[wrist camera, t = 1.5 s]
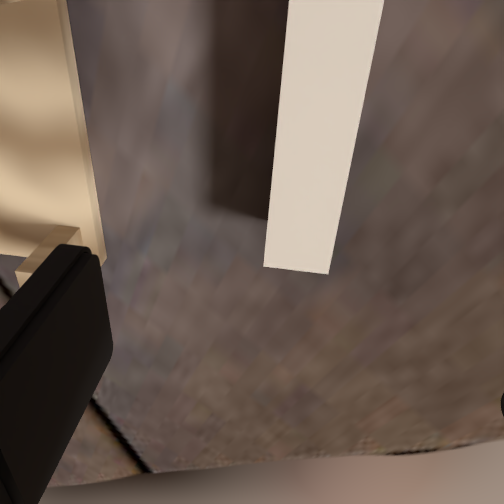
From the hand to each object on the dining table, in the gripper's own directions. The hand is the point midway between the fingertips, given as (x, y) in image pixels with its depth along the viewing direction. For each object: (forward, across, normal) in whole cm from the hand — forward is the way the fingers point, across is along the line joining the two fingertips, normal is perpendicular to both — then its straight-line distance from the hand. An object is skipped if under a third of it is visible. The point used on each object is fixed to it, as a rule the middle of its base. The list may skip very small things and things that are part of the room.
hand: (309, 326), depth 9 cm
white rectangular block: (+17, 0, 0) cm, 17 cm away
